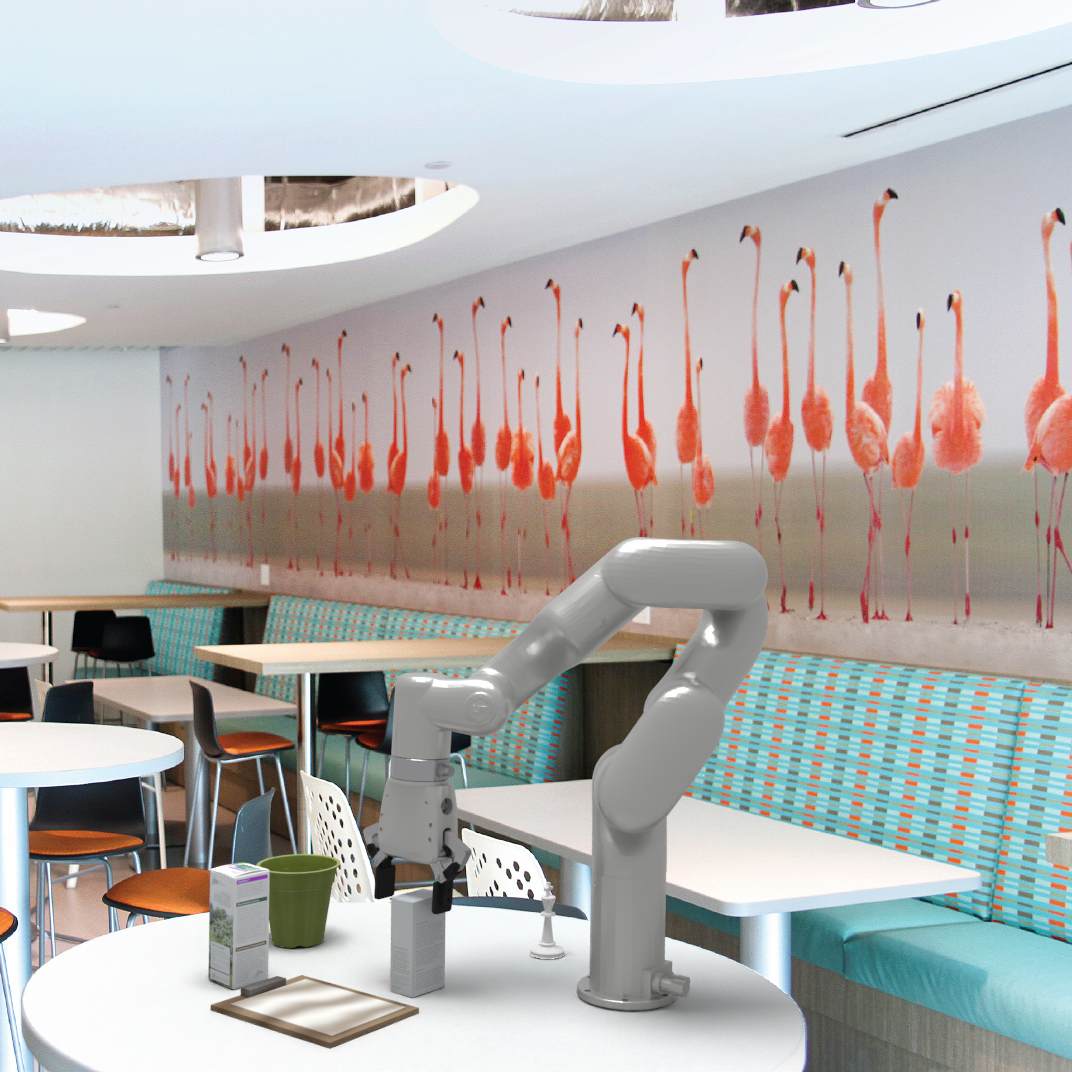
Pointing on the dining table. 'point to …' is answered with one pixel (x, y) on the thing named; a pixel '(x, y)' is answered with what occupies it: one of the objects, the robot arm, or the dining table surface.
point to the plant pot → (299, 897)
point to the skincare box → (416, 944)
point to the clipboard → (313, 1009)
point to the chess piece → (547, 930)
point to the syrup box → (238, 924)
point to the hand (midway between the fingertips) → (412, 904)
